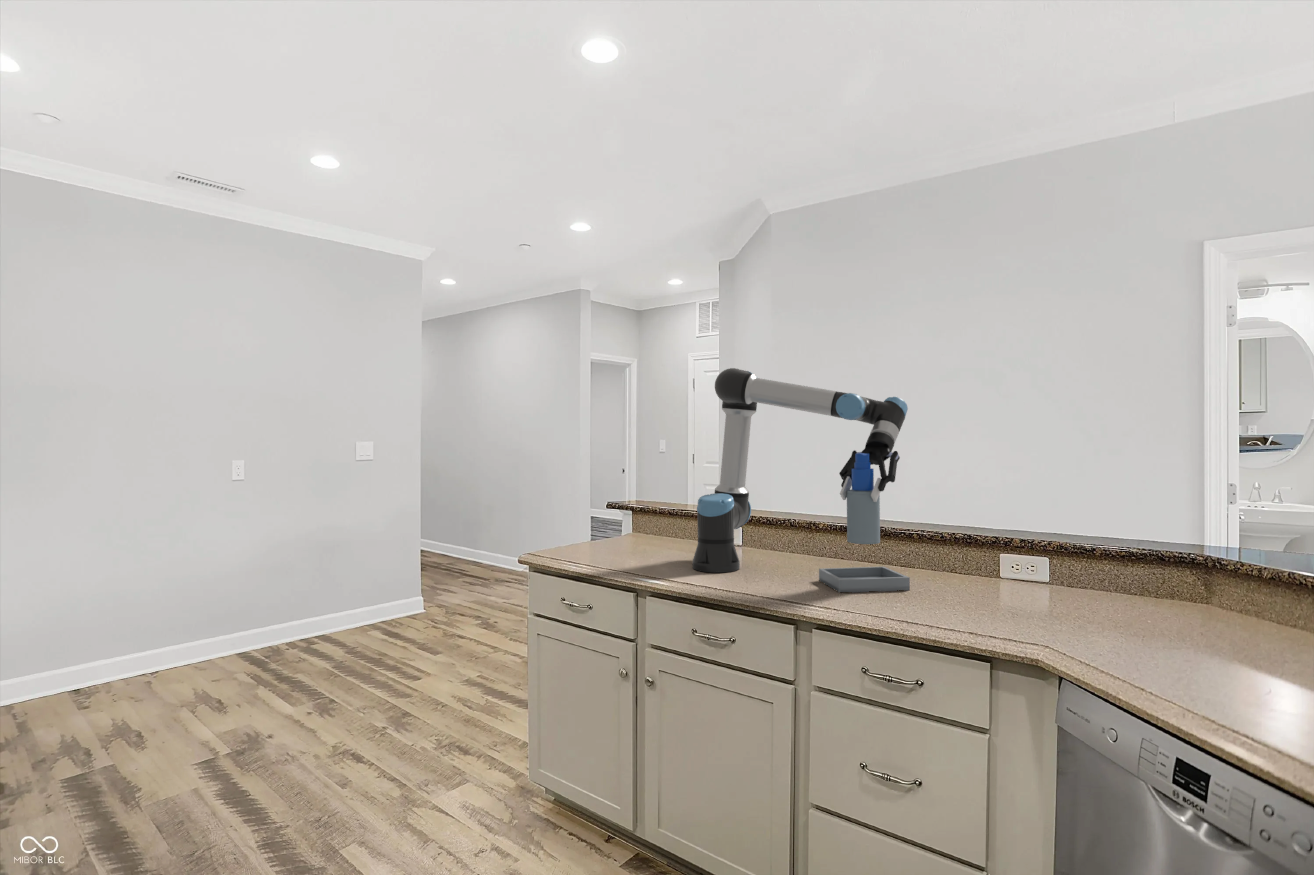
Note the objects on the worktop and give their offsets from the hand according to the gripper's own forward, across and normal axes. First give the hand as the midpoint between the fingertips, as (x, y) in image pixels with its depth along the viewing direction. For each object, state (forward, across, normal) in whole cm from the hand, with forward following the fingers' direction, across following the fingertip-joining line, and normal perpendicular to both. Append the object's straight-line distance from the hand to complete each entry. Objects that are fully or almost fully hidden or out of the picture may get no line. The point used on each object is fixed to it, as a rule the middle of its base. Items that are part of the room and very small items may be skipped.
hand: (857, 497), depth 180 cm
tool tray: (+16, 0, -20) cm, 25 cm away
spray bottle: (+7, 0, -11) cm, 13 cm away
